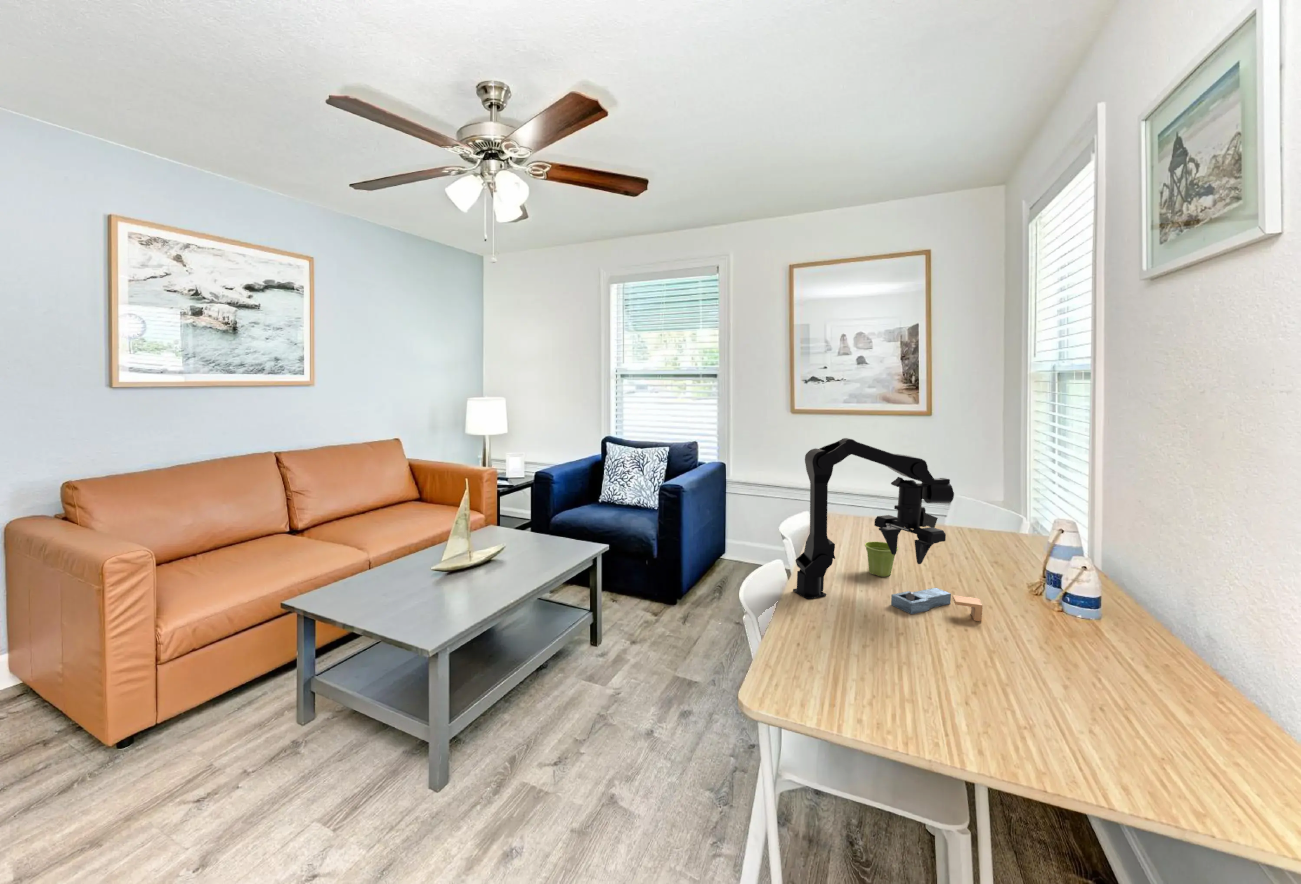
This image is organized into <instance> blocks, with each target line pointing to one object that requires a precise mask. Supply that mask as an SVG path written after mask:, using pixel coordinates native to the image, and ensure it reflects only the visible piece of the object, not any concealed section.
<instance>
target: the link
mask: <svg viewBox="0 0 1301 884" xmlns="http://www.w3.org/2000/svg"><path fill="white" fill-rule="evenodd" d="M908 592H911V593H913V594H914V596H915V599H914V601H910V600H907V599H906V594H907V593H908ZM890 599H891V600H890V605H891V606H893V607H894V608H897V609H899V610H900V611H903V612H906V613H907V614H910V615H915V614H918V613H925V612H928V611H929V610H930V609H933V608H937V607H938V608H939V607H943V606H947V605H950V604H951V602H952V601H951V600H952V593H951V592H948V591H946V590H943V589H941V588H938V587H933V588H932V587H931V588H928V589H922V590H917V591H916V590H915V591H904V592H898V593H893V594H891V598H890Z"/></svg>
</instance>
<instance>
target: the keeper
mask: <svg viewBox="0 0 1301 884" xmlns="http://www.w3.org/2000/svg"><path fill="white" fill-rule="evenodd" d="M952 601H953V602H954V604H955V605H956V606H961V607H969V608H970V607H971V608H970V609H971V610H970V615H971V616H972V619H973V621H975V622H976V621H977V622H983V621H982V619H983V607H984V605H983V604H982V601H981V599H980V598H975V597H970V596H969V597H968V596H961V595H954V594H952Z"/></svg>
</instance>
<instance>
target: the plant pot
mask: <svg viewBox="0 0 1301 884" xmlns="http://www.w3.org/2000/svg"><path fill="white" fill-rule="evenodd" d="M864 547H865V548H866V554H867V563H868V572H869V573H870V574H871V575H875V576H877V577H884V578H885V577H889V576H890V575H892V569H893V566H894V561H895V557H896V554H895V555H892V553H891V551H890V549H889V546H888V544H887V542H883V541H867V542H865V543H864ZM897 551H899V547H898V546H897ZM897 551H896V553H897Z"/></svg>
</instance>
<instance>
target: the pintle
mask: <svg viewBox="0 0 1301 884" xmlns="http://www.w3.org/2000/svg"><path fill="white" fill-rule="evenodd" d="M911 592H912V591H910V592H908V593H907V594H906V599H907V600H910V601H914V599H915V596H914V594H913V593H911Z"/></svg>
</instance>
